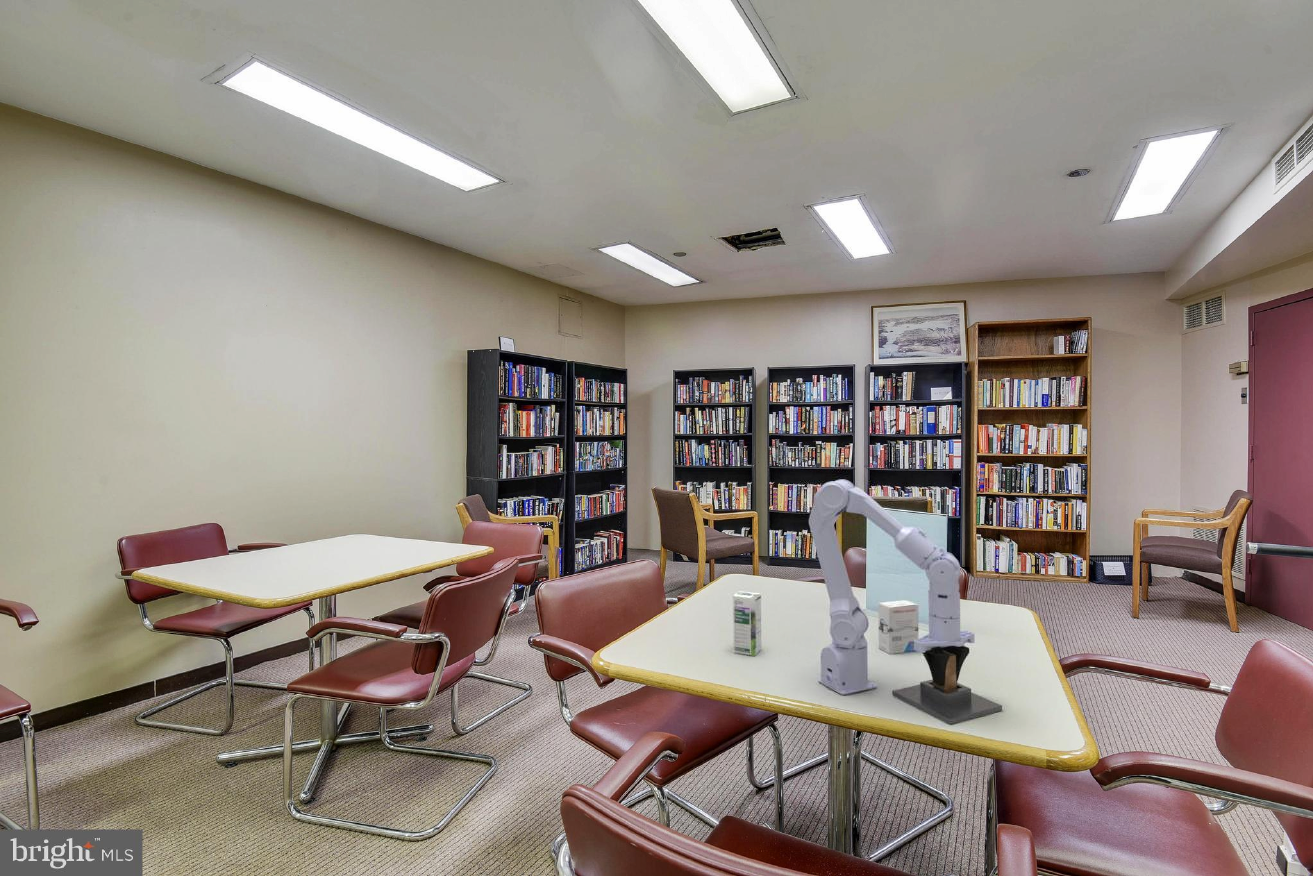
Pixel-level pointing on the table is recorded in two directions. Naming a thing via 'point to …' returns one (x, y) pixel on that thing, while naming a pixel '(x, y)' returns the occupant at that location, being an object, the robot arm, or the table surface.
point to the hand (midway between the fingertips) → (945, 682)
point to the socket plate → (947, 702)
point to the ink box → (898, 626)
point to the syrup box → (747, 622)
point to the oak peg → (949, 674)
